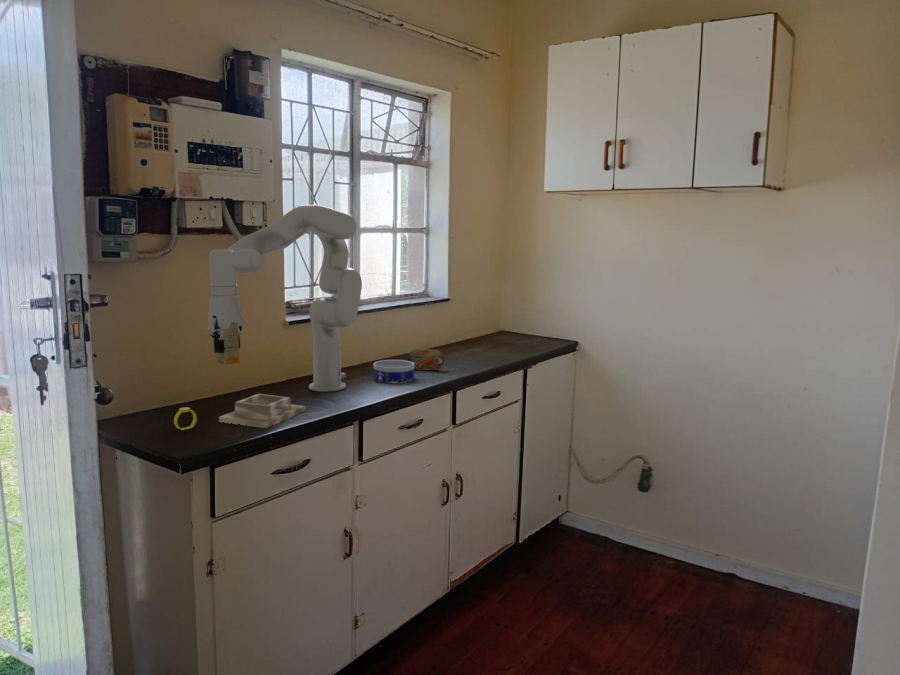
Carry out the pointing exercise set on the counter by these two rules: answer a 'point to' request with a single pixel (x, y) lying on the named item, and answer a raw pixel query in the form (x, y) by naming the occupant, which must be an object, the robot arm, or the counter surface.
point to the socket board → (262, 411)
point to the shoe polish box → (230, 346)
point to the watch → (185, 409)
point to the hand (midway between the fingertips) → (227, 350)
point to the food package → (426, 359)
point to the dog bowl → (393, 371)
